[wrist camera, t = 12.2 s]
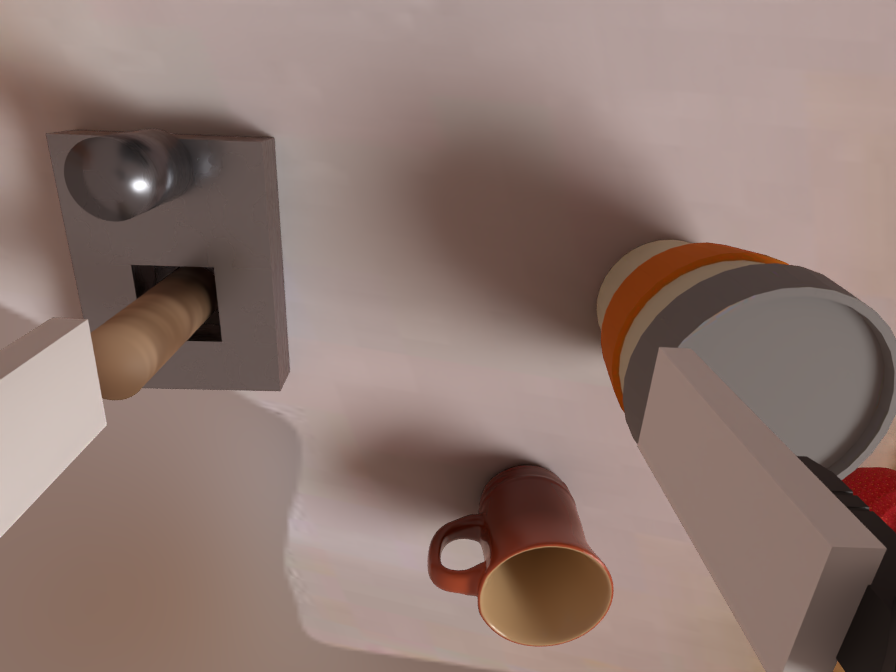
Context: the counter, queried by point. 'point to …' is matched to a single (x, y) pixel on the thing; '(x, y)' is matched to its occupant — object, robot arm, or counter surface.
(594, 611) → the mug
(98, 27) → the counter surface
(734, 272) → the reusable coffee cup
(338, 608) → the counter surface
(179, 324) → the wooden cylinder
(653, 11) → the counter surface
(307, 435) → the counter surface
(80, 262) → the square hole fixture
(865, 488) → the strawberry
